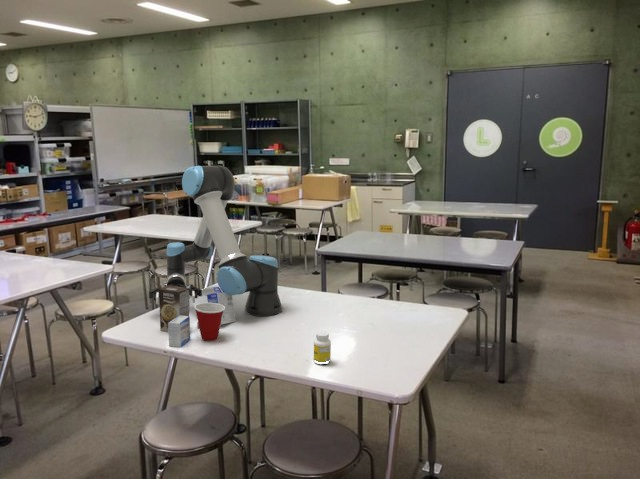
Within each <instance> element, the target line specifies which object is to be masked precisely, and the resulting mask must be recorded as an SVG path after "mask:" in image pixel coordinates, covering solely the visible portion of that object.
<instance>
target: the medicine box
mask: <svg viewBox="0 0 640 479" xmlns="http://www.w3.org/2000/svg"><path fill="white" fill-rule="evenodd" d="M167 333H168V346H169V347H172V348H173V347H175V348H181V347H183V346H184V345H185V344H186V343H187V342H189V341H190V340H191V318H190V315H189V316H178V317H176V318H175V319H173V320H172V321H170V322H169V323H168V332H167Z"/></svg>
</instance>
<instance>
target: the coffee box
mask: <svg viewBox="0 0 640 479" xmlns="http://www.w3.org/2000/svg"><path fill="white" fill-rule="evenodd" d="M162 287H163V288H160V289H159V302H158V304H159V323H160V325H159V326H160V332H165V333H168V323H169V322H170V321H172V320H173V319H175V318H176V317H178V316H189V317H190V295H189V288H184V287H178V286H171V285H169V286H167V285H166V286H162Z"/></svg>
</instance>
